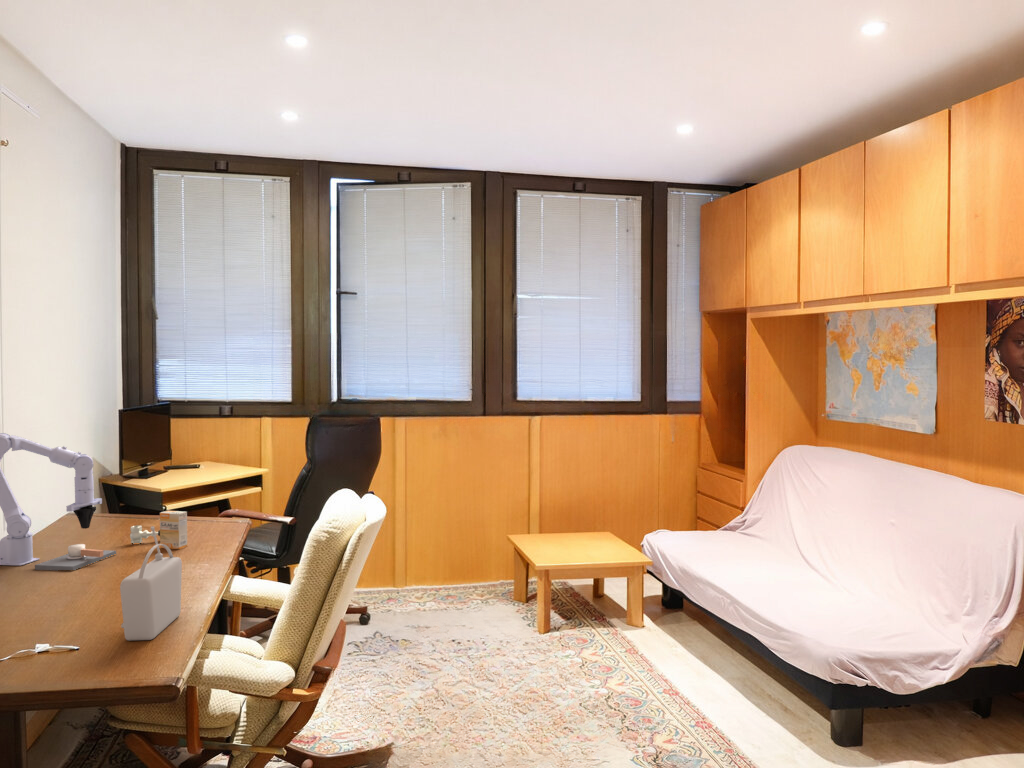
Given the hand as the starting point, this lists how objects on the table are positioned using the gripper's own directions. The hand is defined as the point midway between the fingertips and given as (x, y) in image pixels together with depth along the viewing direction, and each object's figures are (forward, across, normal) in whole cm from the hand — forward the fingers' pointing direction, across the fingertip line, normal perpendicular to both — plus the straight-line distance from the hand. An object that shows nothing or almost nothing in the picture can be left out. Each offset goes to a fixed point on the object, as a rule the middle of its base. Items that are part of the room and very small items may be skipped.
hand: (85, 528), depth 256 cm
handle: (+7, -9, -8) cm, 14 cm away
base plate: (+9, -9, -4) cm, 14 cm away
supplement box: (+10, +13, -25) cm, 30 cm away
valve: (+10, +19, -10) cm, 24 cm away
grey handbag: (+10, -63, -70) cm, 94 cm away
